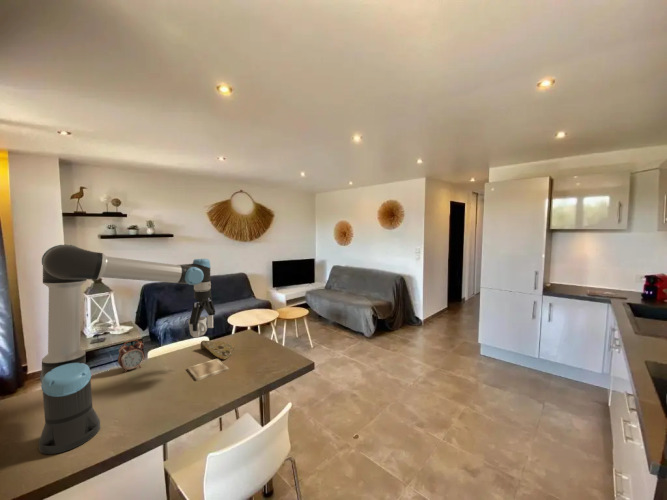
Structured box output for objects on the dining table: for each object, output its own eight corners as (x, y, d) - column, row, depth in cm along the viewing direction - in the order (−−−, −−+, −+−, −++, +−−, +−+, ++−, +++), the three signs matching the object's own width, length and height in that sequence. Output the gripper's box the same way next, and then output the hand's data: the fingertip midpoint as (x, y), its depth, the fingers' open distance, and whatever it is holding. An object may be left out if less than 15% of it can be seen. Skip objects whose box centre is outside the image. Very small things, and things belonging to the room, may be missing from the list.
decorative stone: (198, 348, 165) (200, 340, 165) (223, 344, 176) (224, 336, 176) (217, 367, 148) (219, 358, 148) (243, 360, 160) (245, 352, 159)
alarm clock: (121, 375, 136) (119, 345, 135) (117, 372, 139) (115, 342, 138) (146, 366, 145) (144, 338, 144) (142, 363, 148) (141, 336, 147)
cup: (213, 335, 136) (213, 319, 136) (198, 340, 130) (197, 323, 129) (201, 330, 142) (200, 315, 142) (185, 335, 136) (185, 319, 135)
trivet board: (196, 381, 130) (196, 378, 130) (187, 369, 142) (187, 367, 141) (228, 370, 141) (228, 368, 140) (217, 360, 152) (217, 358, 152)
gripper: (196, 295, 126) (197, 342, 127) (221, 285, 151) (222, 324, 152) (179, 295, 126) (181, 341, 128) (207, 285, 151) (208, 324, 152)
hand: (203, 332), depth 140 cm, fingers open, 13 cm apart
